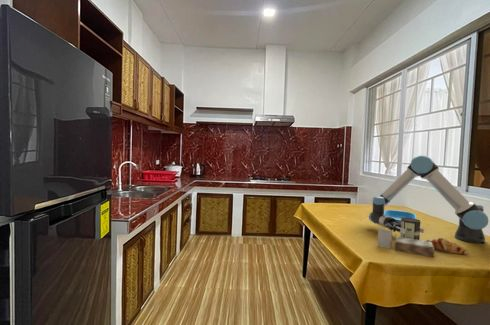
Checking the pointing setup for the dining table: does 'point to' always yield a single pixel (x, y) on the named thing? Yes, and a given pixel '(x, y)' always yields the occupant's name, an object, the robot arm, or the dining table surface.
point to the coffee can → (411, 228)
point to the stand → (414, 246)
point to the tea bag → (384, 238)
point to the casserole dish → (399, 214)
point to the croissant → (448, 246)
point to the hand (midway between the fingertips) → (414, 231)
